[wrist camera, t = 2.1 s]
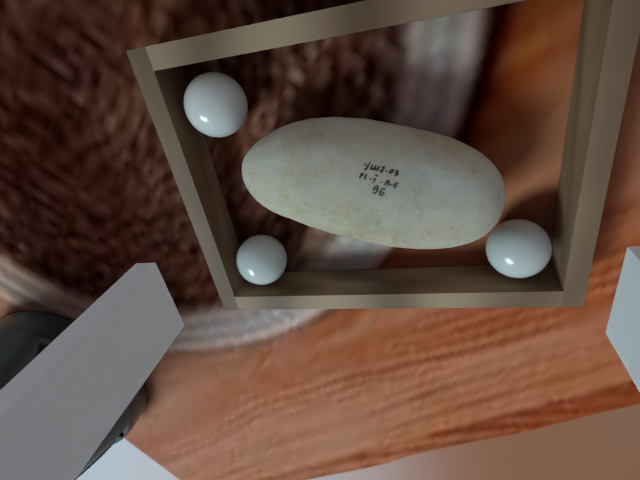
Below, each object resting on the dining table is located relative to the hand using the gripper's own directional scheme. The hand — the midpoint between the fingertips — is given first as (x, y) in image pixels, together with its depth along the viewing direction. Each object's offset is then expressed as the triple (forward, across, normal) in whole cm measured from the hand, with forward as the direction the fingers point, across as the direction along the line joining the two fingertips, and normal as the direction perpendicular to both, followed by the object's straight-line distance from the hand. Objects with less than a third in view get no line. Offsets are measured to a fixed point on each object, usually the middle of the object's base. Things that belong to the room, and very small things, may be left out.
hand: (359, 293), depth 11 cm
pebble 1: (+10, -8, +4) cm, 14 cm away
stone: (+11, -1, 0) cm, 11 cm away
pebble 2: (+11, +6, -5) cm, 13 cm away
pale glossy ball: (+10, -8, -5) cm, 14 cm away
